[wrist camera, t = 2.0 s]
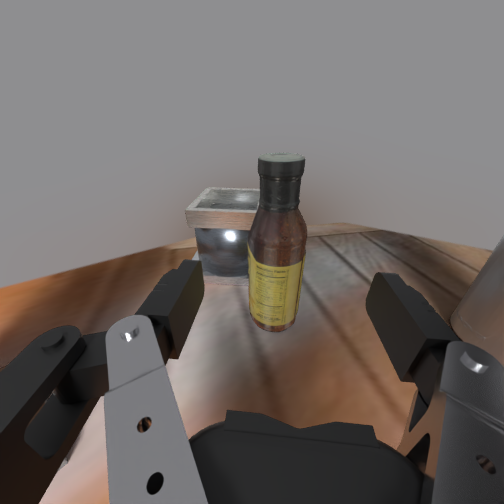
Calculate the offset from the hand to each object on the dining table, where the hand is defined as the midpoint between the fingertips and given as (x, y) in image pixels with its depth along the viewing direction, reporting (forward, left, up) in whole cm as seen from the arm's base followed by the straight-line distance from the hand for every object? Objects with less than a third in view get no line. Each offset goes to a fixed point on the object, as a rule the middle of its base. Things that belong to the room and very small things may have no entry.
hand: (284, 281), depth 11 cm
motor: (+7, -25, -16) cm, 30 cm away
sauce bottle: (0, -13, -16) cm, 21 cm away
